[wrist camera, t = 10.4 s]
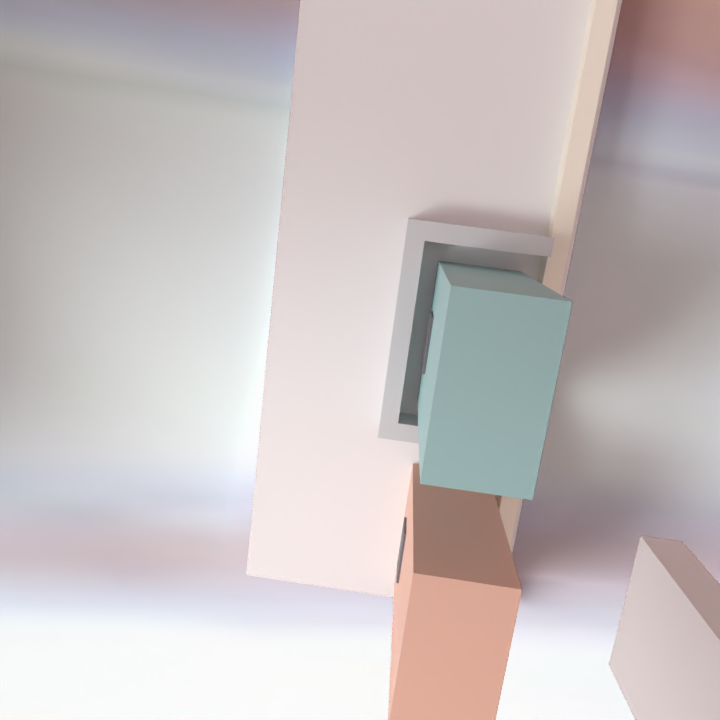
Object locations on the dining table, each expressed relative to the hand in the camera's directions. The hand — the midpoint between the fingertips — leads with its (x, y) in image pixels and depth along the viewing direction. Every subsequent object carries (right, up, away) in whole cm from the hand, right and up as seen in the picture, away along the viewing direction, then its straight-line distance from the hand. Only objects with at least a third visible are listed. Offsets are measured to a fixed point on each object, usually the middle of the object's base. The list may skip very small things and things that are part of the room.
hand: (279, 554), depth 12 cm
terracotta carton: (+6, -7, +27) cm, 29 cm away
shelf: (+5, +7, +26) cm, 27 cm away
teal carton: (+8, +5, +25) cm, 26 cm away
